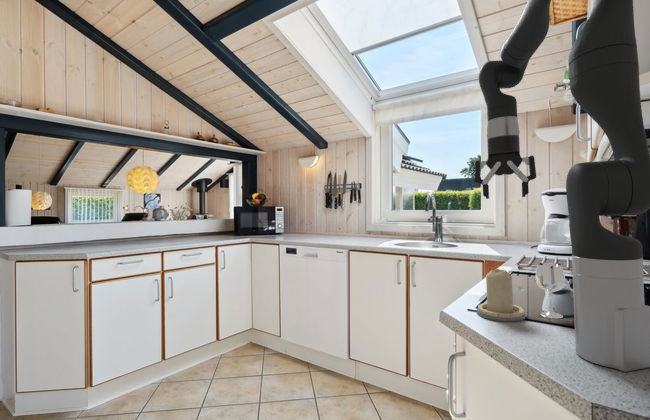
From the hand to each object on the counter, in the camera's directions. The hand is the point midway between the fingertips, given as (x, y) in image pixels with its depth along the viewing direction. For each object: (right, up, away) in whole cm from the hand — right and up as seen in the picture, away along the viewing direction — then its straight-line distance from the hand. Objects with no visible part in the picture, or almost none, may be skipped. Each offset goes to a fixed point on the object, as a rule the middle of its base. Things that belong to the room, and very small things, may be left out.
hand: (505, 197), depth 91 cm
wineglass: (+5, -28, -11) cm, 31 cm away
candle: (-6, -28, -9) cm, 30 cm away
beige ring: (-6, -28, -9) cm, 30 cm away
